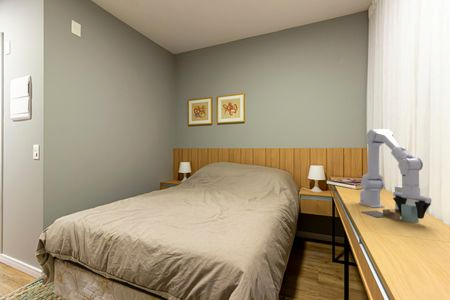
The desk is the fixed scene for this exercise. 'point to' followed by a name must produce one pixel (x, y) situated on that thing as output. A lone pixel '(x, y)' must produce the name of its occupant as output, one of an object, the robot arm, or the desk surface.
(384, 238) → the desk surface
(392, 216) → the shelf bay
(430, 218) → the desk surface
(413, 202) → the supplement box
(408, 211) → the block
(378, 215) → the mat
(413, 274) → the desk surface
